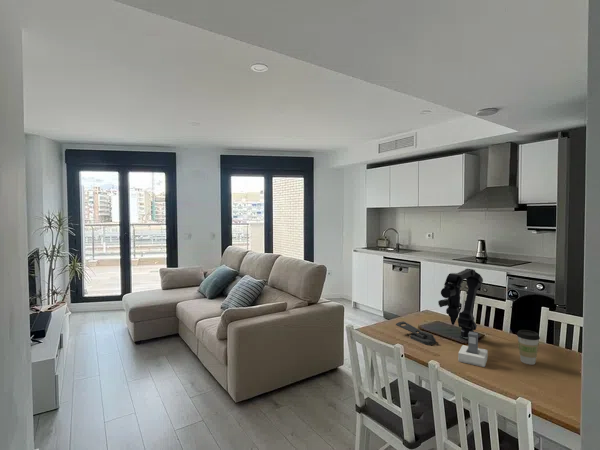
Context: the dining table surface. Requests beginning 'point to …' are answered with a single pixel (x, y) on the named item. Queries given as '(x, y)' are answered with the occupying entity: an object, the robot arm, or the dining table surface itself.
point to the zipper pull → (418, 334)
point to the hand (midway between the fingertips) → (453, 322)
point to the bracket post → (473, 342)
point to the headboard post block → (473, 356)
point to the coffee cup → (528, 346)
